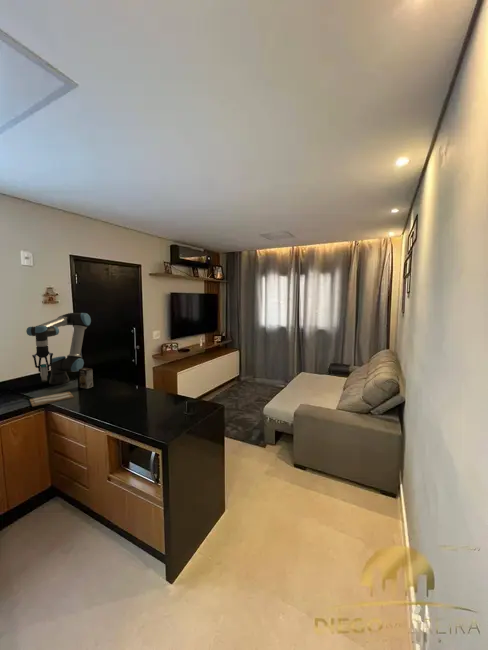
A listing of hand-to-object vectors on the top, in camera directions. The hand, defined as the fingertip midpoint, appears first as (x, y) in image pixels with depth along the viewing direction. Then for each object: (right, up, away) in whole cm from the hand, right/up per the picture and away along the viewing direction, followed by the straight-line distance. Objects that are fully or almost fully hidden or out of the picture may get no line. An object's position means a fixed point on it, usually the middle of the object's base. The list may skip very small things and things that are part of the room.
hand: (44, 375), depth 222 cm
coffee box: (+20, -14, +24) cm, 34 cm away
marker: (0, -4, 0) cm, 4 cm away
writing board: (+9, -17, -4) cm, 20 cm away
